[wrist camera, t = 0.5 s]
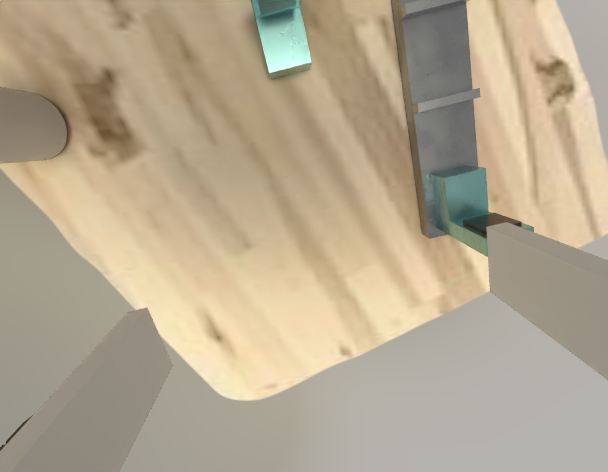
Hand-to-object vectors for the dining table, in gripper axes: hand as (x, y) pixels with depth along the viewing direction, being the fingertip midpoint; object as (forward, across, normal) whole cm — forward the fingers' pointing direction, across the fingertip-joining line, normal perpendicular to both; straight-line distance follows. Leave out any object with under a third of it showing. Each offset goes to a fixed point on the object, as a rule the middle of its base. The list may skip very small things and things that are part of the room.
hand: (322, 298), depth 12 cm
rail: (+24, +16, +4) cm, 29 cm away
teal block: (+24, +2, +15) cm, 28 cm away
